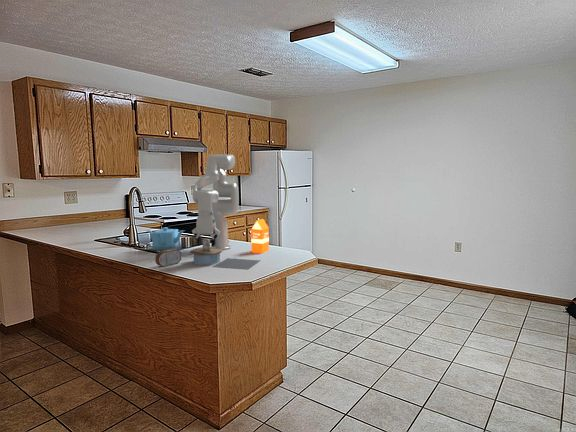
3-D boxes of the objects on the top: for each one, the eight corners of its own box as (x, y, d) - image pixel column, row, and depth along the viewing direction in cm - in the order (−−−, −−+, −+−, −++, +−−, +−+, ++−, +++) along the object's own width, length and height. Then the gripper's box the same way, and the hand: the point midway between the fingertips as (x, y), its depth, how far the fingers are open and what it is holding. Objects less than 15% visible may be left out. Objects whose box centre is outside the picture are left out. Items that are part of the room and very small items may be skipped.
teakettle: (172, 246, 258) (171, 224, 256) (187, 250, 245) (186, 227, 243) (145, 250, 245) (143, 227, 243) (158, 255, 232) (157, 230, 230)
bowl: (201, 258, 222) (201, 248, 222) (223, 260, 219) (223, 249, 218) (188, 264, 209) (188, 253, 208) (212, 266, 205) (212, 255, 205)
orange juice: (251, 252, 240) (250, 220, 238) (258, 249, 248) (258, 218, 246) (262, 253, 237) (262, 220, 234) (269, 250, 245) (269, 219, 242)
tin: (179, 262, 216) (178, 247, 215) (182, 262, 214) (182, 247, 213) (155, 267, 204) (154, 251, 203) (158, 268, 202) (157, 252, 201)
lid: (199, 247, 224) (199, 236, 223) (227, 249, 219) (226, 237, 218) (184, 254, 207) (184, 241, 206) (213, 256, 203) (213, 243, 202)
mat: (227, 259, 221) (227, 258, 221) (260, 261, 216) (260, 260, 216) (211, 268, 202) (211, 266, 202) (247, 270, 197) (247, 269, 197)
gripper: (223, 213, 212) (223, 245, 214) (194, 212, 216) (195, 243, 219) (217, 215, 205) (217, 248, 207) (187, 214, 209) (188, 246, 211)
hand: (206, 245), depth 213 cm, fingers open, 7 cm apart
